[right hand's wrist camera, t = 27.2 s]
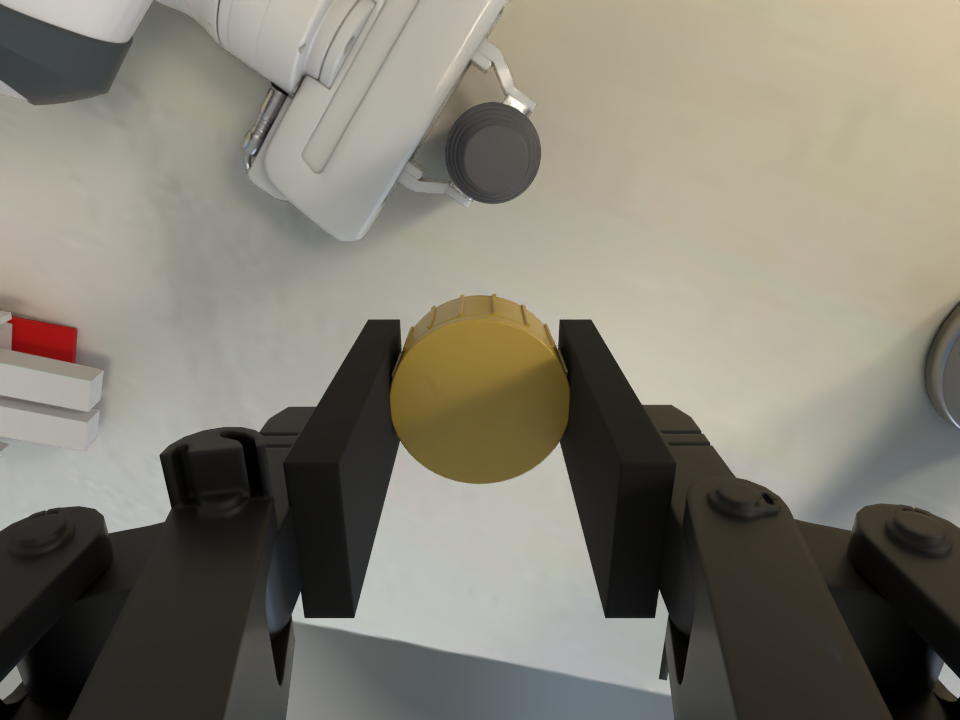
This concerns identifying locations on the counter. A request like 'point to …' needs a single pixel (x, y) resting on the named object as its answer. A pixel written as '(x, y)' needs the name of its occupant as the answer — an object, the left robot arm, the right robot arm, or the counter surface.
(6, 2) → the left robot arm
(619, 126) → the counter surface
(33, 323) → the toy
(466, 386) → the cap
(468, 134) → the bottle
